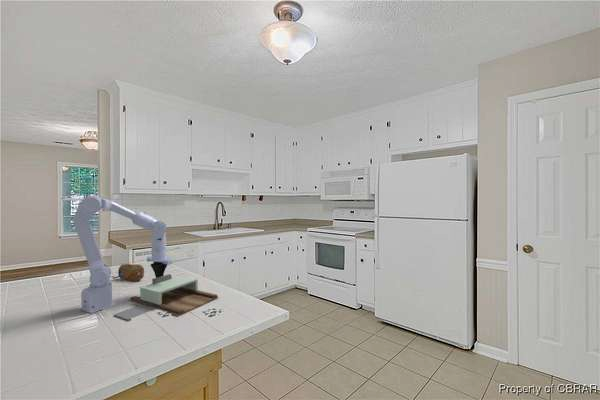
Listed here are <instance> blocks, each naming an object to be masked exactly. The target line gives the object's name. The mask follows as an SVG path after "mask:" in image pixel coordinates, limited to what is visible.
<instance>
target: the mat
mask: <svg viewBox="0 0 600 400" xmlns="http://www.w3.org/2000/svg"><path fill="white" fill-rule="evenodd" d="M151 311H152V308H147V307H146V306H145V307H144V306H141V305H136V306H132V307H129V308H128V309H125V310H121V311H120V312H119V311H118V312H117V313H114V314H113V316H114V317H115V316H116V317H115V318H118V317H119V318H118V319H121V318H122V319H121V320H124V319H125V320H124V321H127V322H130V321H132V319H133V318H135V317H136V318H137V317H138V316H141V315H143V314H144V315H145V314H146V313H148V312H151ZM129 320H130V321H129Z"/></svg>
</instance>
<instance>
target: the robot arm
mask: <svg viewBox="0 0 600 400" xmlns="http://www.w3.org/2000/svg"><path fill="white" fill-rule="evenodd" d="M101 210H102V212H113V213H115V214H118V215H120V216H122V217H125V218H127V219H129V220H131V221H132V224H133V225H135V226H137V227H139V228H141V229H144V230H147V231H151V238H150V239H151V240H150V241H151V255H150V256H146V262H151V264H150V267H151V269H152V270H153V272H154V276H155V278H157V277H161V276H164V275H165V274H164V273H165V271H166V269H167V267H168V266H169V265H173V259H171V258H169V256H167V233H166V232H167V230H168V227H167V224H166V223H165V222H164V221H162V220H161V219H159V218H158V217H153V216H151V215H149V214H148V213H147V212H145V211H137V212H135V211H133V210H131V209H129V208H127V207H125V206H123V205H120V204H118V203H117V202H115V201H112V200H109V199H106V198H101V197H100V196H98V195H88V196H86V197H84V198H83V199H82V200H81V201H80V202H79V203H78V206H77V208H76V212H74V216H73V219H72V224H73V225H74V229H75V231H76V233H77V237H78V238H79V241H80V242H79V243H80V245H81V247H82V250H83V252H84V253H83V254H84V255H85V258H86V261H87V264H88V270H89V273H90V274H89V282H90V283H89V286H88V287H86V288H83V289H82V290H81V294H80V295H81V299H80V300H81V303H80V304H81V308H80V311H81V310H82V311H84V312H87V313H89V314H93V313H96V312H99V311H102V310H103V309H105V308H106V309H107V308H108V307H111V306H115V305H118V302H115V301H113V281H112V280H111V278H110V277H111V273H112V269H111V268H110V267H109V266H108V265H107V264H106V262H105V259H104V258H103V256H102V252H101V250H100V247H99V245H98V242H97V241H98V240H97V239H96V236H95V233H94V230H93V227H92V225H91V220H92V219H93V217H94V215H95V214H96V213H98V212H99V211H101Z"/></svg>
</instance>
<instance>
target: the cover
mask: <svg viewBox="0 0 600 400" xmlns="http://www.w3.org/2000/svg"><path fill="white" fill-rule="evenodd" d="M151 282H152V283H150V284H147V285H145V286H140V287H139V291H140V292H139V293H140V295H139V297H140V299H141V300H144V301H148V302H151V303H155V304H158V305H160V304H162V293H164V292H167V291H170V290H173V289H176V288H178V287H182V288H186V289H191V290H195V291H196V290H198V291H199V289H198V285H199V284H198V283H199V282H198V278H194V277H191V276H190V277H189V276H184V275H177V276H173V277H172V274H170V273H169V274H164V275H163V276H161V277H157V278H156V277H155V278H152V281H151Z"/></svg>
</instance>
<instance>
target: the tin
mask: <svg viewBox="0 0 600 400" xmlns="http://www.w3.org/2000/svg"><path fill="white" fill-rule="evenodd" d="M117 274H118V277H119V279H120V280H121V281H125V280H126V281H127V282H138V281H141V280H142V279H143V278H144V276H145V268H144V266H142V265H141V264H135V263H124V264H121V265H120V266H119V268H118V272H117Z"/></svg>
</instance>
